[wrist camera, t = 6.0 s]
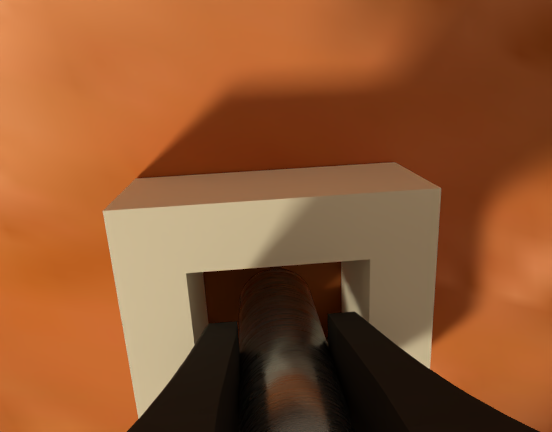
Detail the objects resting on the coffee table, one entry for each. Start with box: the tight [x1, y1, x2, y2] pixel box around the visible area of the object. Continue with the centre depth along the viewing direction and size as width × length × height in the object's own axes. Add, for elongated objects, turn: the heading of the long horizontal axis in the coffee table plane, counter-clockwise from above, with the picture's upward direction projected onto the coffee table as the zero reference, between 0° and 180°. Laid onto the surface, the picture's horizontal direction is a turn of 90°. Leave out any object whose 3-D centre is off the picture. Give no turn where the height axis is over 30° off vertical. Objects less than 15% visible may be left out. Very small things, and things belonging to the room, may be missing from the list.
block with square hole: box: [103, 162, 441, 418], centre depth 12 cm, size 7×7×3 cm
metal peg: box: [239, 269, 356, 432], centre depth 8 cm, size 2×2×9 cm
